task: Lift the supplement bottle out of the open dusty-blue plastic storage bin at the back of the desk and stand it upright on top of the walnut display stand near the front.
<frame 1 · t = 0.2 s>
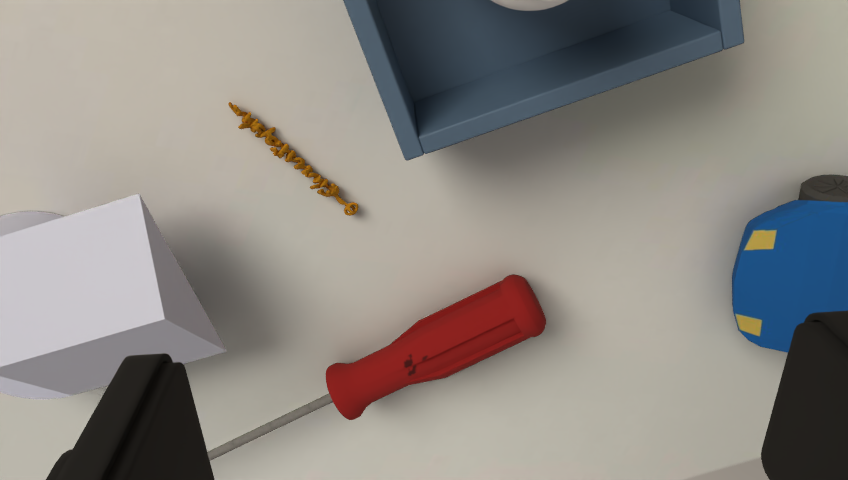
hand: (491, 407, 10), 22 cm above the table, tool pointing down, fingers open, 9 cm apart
keychain: (296, 155, 32), on the table
screwdriver: (334, 374, 38), on the table
wedge on round base: (89, 276, 34), on the table
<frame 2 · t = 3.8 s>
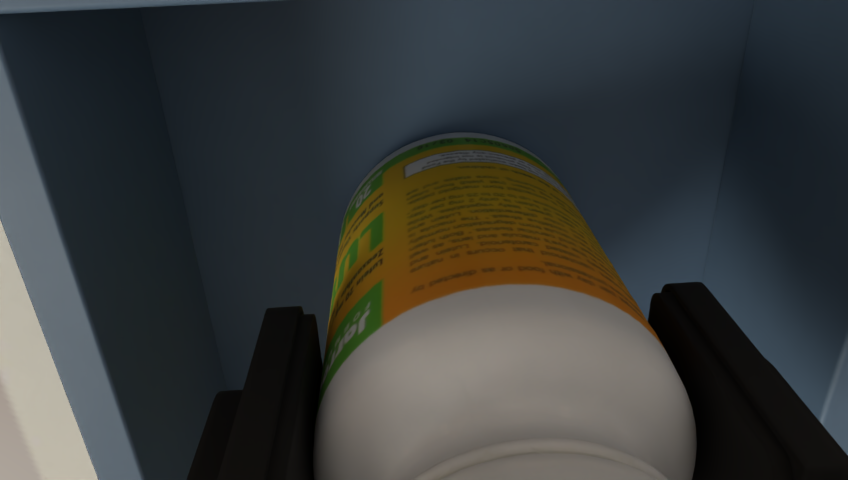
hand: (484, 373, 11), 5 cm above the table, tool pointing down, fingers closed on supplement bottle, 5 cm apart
storage bin: (454, 228, 16), on the table
supplement bottle: (456, 234, 15), resting on storage bin, touching gripper
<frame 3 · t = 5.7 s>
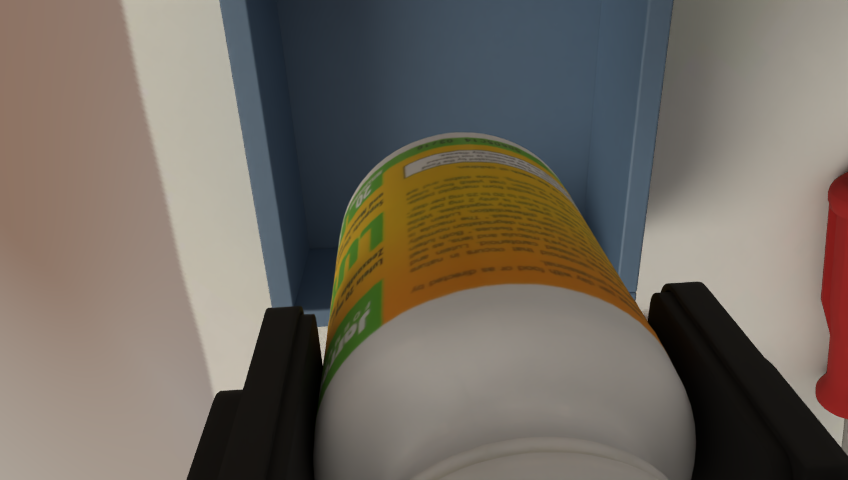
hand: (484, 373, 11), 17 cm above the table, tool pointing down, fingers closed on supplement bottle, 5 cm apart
screwdriver: (828, 382, 34), on the table
storage bin: (442, 103, 27), on the table
supplement bottle: (456, 234, 15), point 12 cm above the table, touching gripper
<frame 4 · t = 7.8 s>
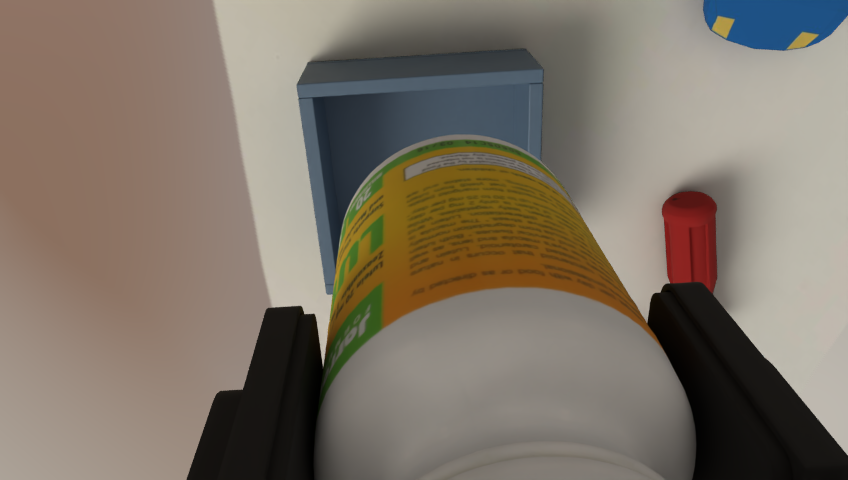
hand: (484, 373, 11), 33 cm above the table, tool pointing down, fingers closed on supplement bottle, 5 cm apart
screwdriver: (684, 330, 52), on the table
storage bin: (422, 158, 44), on the table
supplement bottle: (456, 235, 15), point 28 cm above the table, touching gripper
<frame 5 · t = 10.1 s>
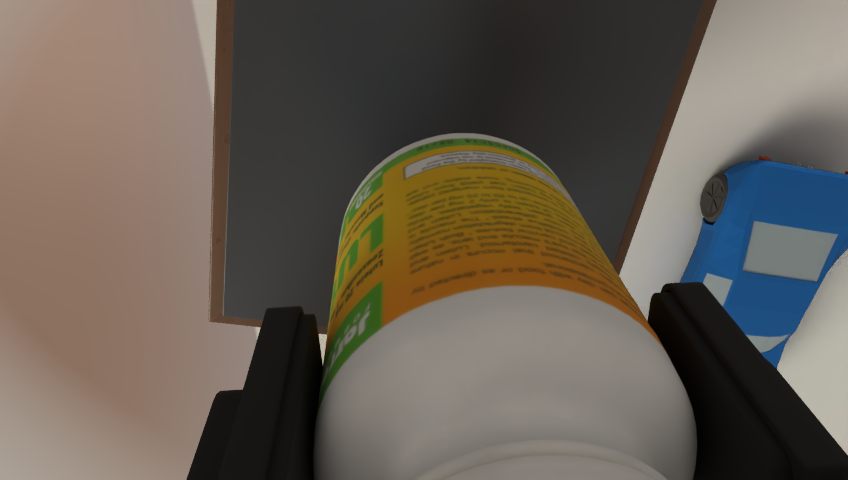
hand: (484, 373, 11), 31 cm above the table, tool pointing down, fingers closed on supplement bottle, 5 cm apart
toy car: (724, 279, 48), on the table
display stand: (413, 30, 38), on the table
supplement bottle: (456, 234, 15), point 26 cm above the table, touching gripper
when the fingers open (27 cm above the table, at t = 11.7 s): supplement bottle stays where it is, resting on display stand.
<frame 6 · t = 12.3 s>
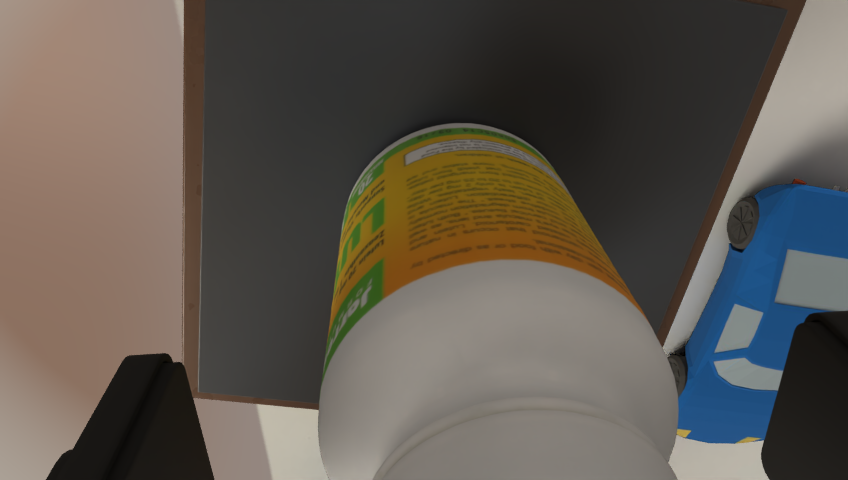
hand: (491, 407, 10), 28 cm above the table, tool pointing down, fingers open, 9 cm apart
toy car: (750, 307, 45), on the table
display stand: (418, 43, 35), on the table
supplement bottle: (454, 222, 16), point 22 cm above the table, touching display stand
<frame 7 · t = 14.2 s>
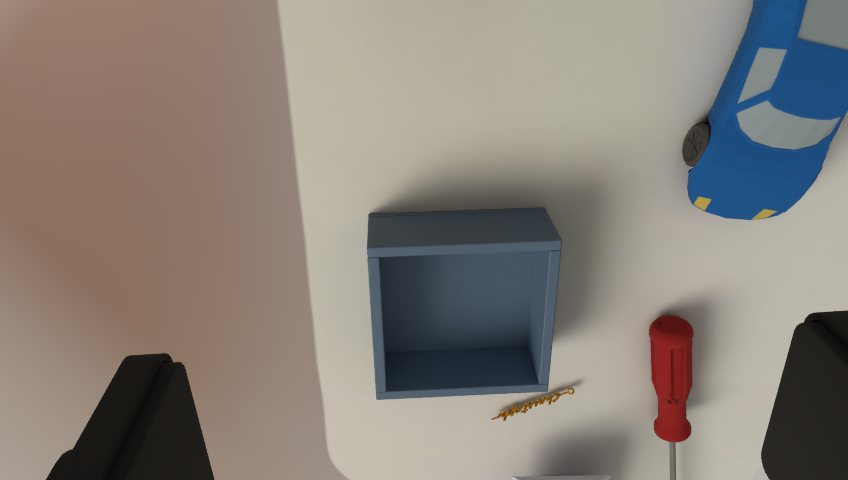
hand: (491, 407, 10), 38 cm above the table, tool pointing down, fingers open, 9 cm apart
toy car: (770, 77, 47), on the table
keychain: (530, 399, 60), on the table
screwdriver: (664, 419, 62), on the table
storage bin: (456, 286, 54), on the table
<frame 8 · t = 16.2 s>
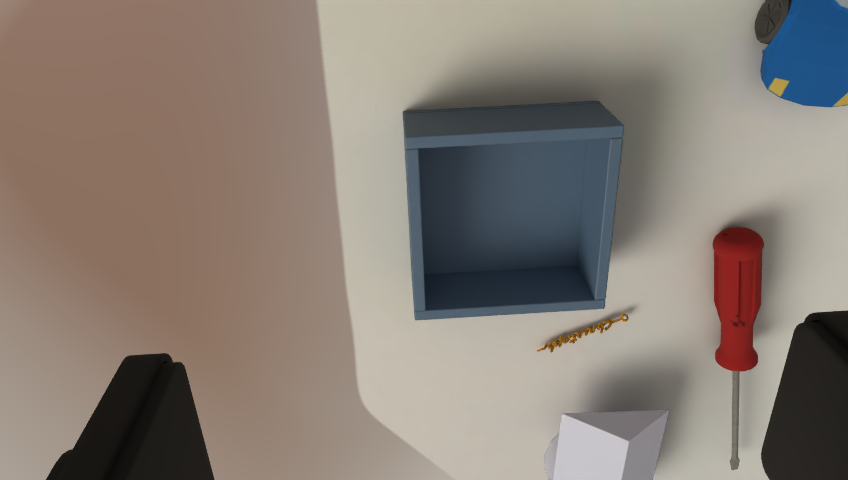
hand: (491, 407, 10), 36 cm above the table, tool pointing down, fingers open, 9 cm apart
keychain: (580, 329, 55), on the table
screwdriver: (725, 350, 57), on the table
storage bin: (499, 196, 48), on the table
wedge on round base: (593, 438, 61), on the table
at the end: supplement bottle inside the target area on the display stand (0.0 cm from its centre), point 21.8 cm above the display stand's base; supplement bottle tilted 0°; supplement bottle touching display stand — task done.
